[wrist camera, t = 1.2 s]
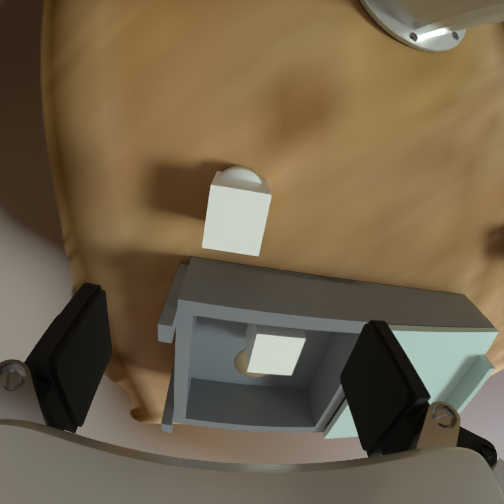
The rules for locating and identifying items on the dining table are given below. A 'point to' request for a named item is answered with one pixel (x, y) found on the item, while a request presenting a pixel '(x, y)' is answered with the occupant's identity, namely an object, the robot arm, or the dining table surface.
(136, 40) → the dining table surface
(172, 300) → the housing
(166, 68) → the dining table surface
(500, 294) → the dining table surface
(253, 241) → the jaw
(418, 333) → the lid
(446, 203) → the dining table surface
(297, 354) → the block
